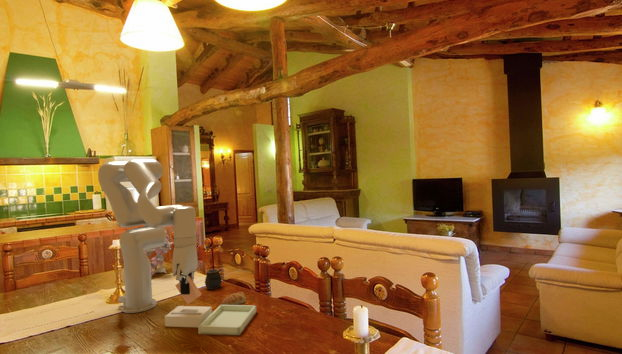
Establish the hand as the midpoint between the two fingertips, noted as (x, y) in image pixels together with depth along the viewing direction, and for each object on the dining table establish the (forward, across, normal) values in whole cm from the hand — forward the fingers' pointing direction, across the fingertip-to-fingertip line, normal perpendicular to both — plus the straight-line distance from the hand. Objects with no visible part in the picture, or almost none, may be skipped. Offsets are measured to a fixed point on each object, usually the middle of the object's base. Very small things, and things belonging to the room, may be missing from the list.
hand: (187, 292), depth 123 cm
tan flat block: (+3, 0, +3) cm, 4 cm away
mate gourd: (+11, -34, -6) cm, 36 cm away
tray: (+10, 0, +15) cm, 18 cm away
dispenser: (+10, 0, 0) cm, 10 cm away
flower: (+11, -50, -46) cm, 69 cm away
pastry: (+11, -17, +11) cm, 23 cm away
